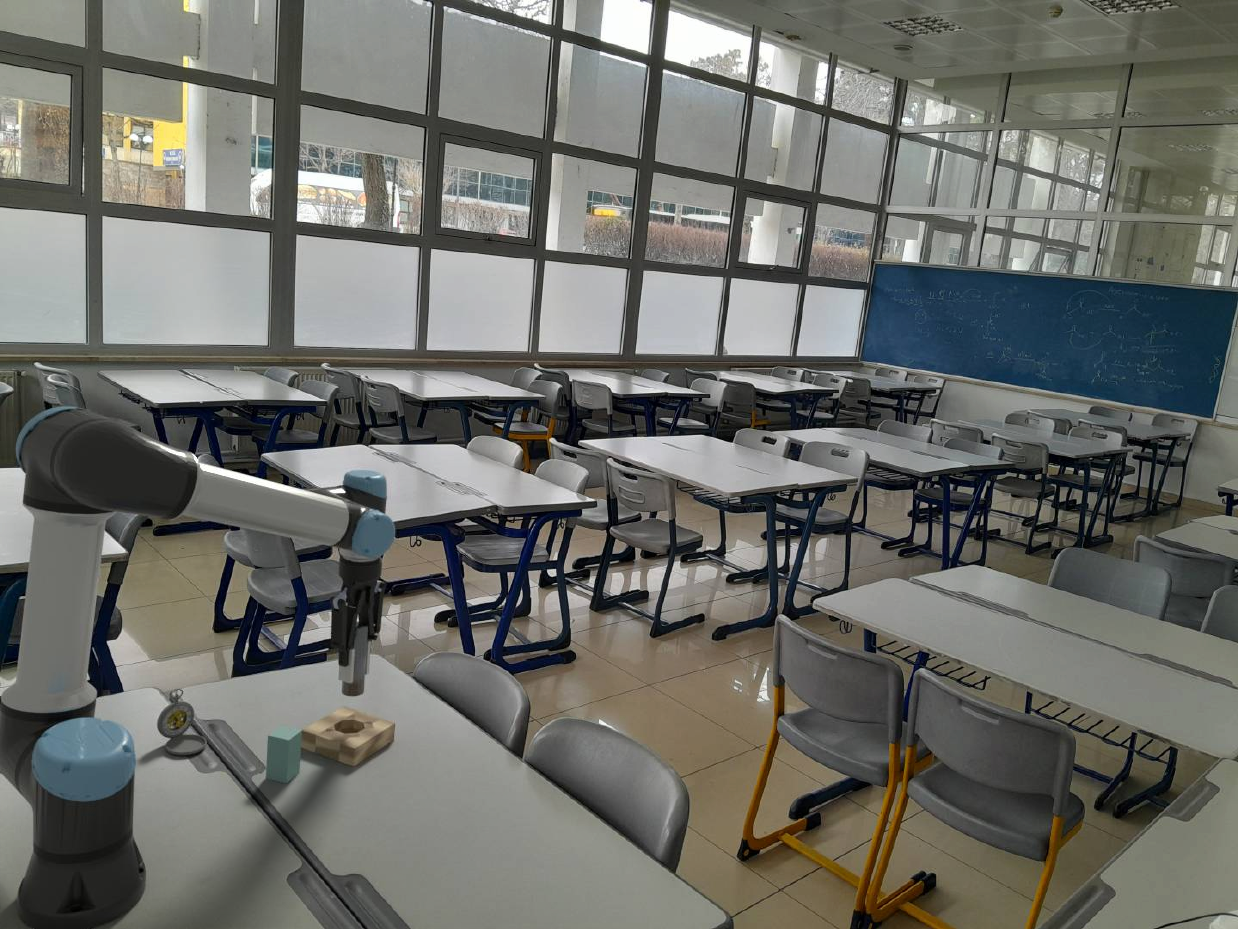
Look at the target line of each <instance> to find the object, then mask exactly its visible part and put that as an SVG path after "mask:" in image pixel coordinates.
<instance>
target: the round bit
mask: <svg viewBox="0 0 1238 929" xmlns="http://www.w3.org/2000/svg"><path fill="white" fill-rule="evenodd" d="M367 636H368V625H367V624H366V623H363V622H359V621H357V622H356V628H355V633H354V639H353V644H352V648H354V649H355V657H354V673H353V682H352V683H347V682H344V681H342V683H341V694H342V695H344V696H347V697H358V696H361V695H363V694H364V692H365V683H366V681H365V680H366V674H365V668H366V652H367Z"/></svg>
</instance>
